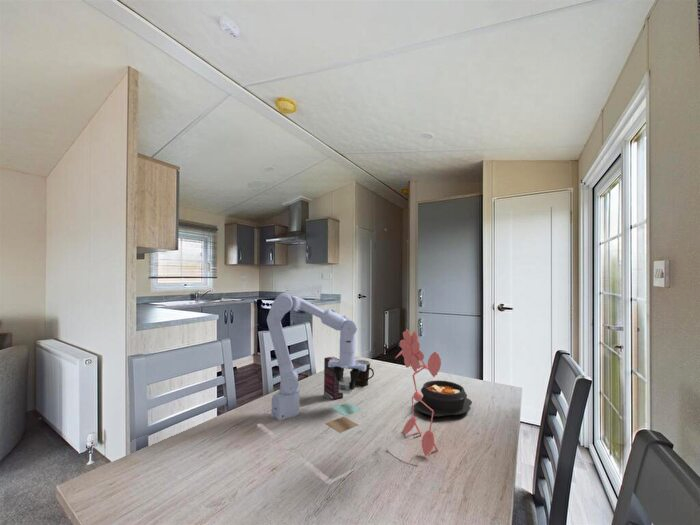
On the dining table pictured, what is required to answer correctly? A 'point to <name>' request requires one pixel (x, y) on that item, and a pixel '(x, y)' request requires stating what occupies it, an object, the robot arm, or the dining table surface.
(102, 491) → the dining table surface
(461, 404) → the casserole
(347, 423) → the stand
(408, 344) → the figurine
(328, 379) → the supplement box
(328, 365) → the robot arm
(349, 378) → the box
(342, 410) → the stand
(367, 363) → the coffee mug
